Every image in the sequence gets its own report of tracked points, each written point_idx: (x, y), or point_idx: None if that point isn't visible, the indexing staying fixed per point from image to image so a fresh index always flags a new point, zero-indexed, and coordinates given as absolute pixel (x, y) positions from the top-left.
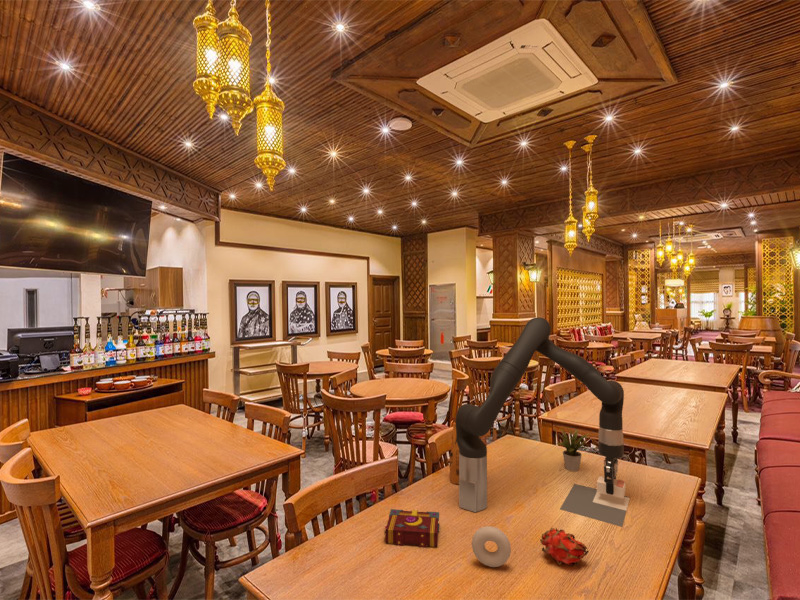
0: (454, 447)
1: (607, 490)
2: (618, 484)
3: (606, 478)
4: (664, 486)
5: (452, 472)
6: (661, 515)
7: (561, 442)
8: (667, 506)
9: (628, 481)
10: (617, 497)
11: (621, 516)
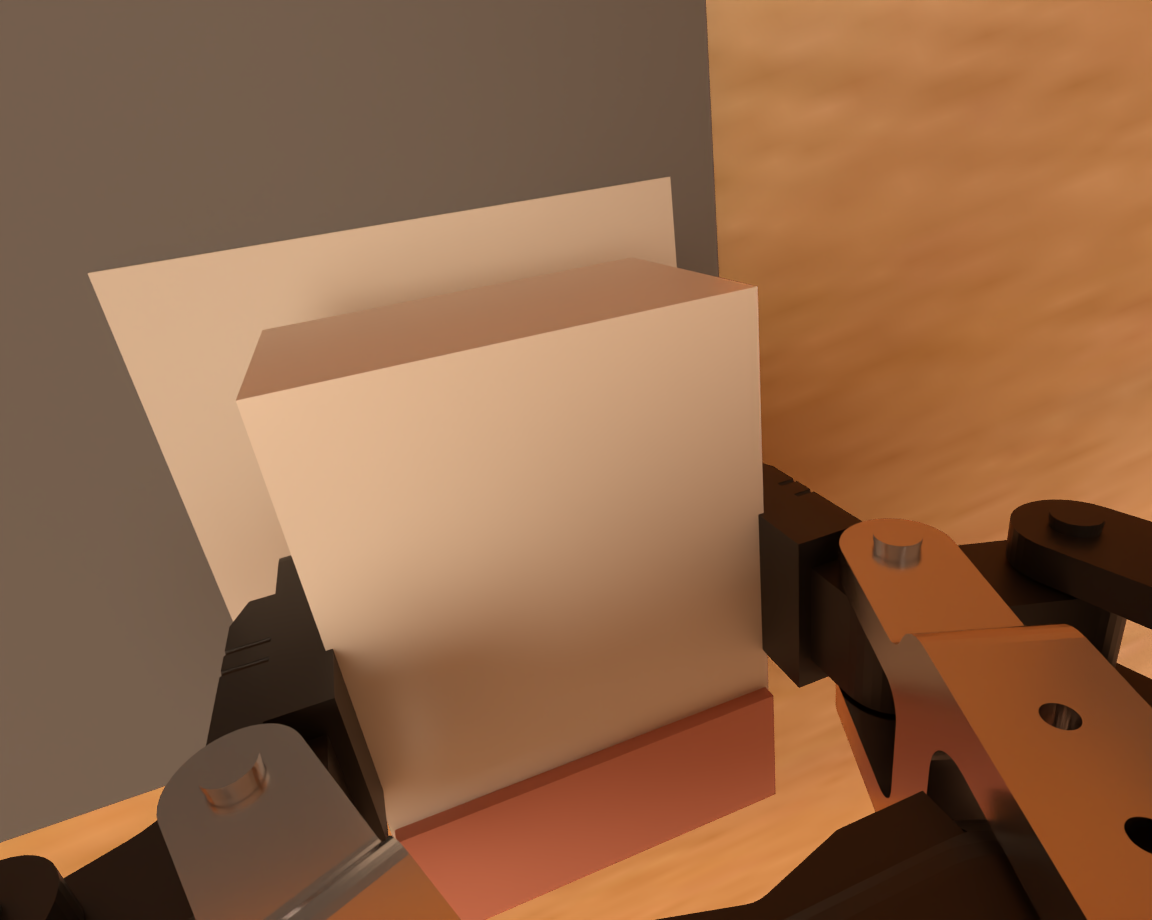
0: None
1: (228, 648)
2: (513, 830)
3: (198, 894)
4: (1135, 646)
5: None
6: (543, 905)
7: None
8: (769, 835)
9: (1141, 384)
10: None
11: (20, 796)
